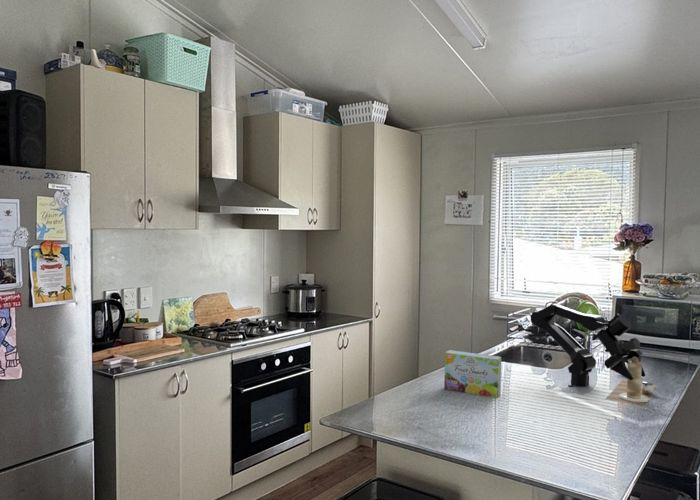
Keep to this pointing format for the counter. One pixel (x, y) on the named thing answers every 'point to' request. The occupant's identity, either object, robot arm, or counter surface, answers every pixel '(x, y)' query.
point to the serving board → (623, 389)
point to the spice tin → (647, 387)
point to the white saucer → (641, 400)
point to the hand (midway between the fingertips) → (638, 377)
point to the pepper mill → (634, 379)
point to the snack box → (472, 373)
